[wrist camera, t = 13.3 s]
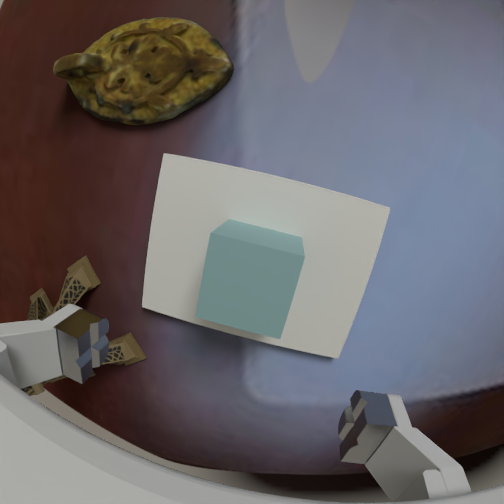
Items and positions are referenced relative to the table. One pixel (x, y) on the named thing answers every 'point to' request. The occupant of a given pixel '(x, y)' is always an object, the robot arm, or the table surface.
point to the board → (271, 217)
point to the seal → (147, 71)
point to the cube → (250, 277)
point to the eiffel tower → (73, 288)
